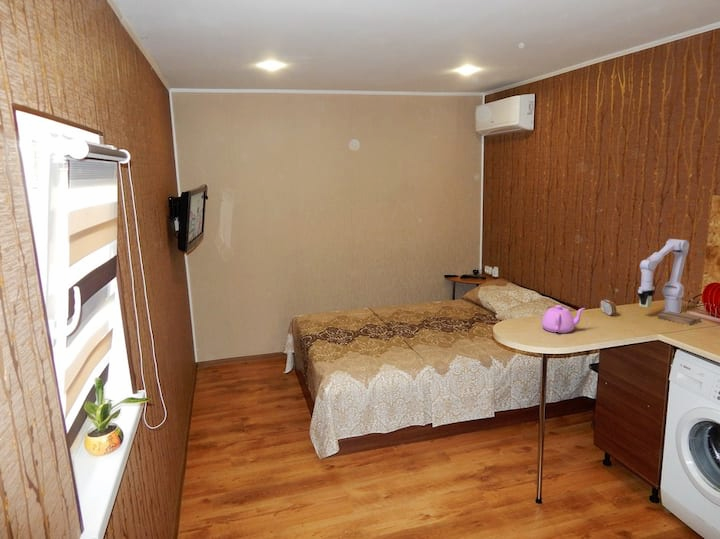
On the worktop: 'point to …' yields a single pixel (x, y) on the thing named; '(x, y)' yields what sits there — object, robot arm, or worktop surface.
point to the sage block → (647, 302)
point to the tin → (608, 307)
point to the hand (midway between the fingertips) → (645, 303)
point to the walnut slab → (679, 318)
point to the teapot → (560, 319)
